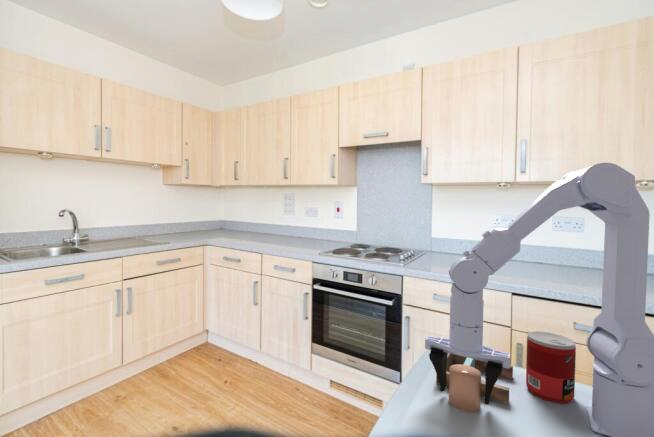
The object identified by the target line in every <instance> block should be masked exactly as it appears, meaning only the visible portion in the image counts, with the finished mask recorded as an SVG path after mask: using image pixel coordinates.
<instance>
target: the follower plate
mask: <svg viewBox="0 0 654 437" xmlns="http://www.w3.org/2000/svg"><path fill="white" fill-rule="evenodd" d="M463 365H468V366H471V367H474V368H475V359H472V358H468V357H467V358H466V360H465V362H464V364H463Z"/></svg>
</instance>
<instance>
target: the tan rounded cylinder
mask: <svg viewBox="0 0 654 437" xmlns="http://www.w3.org/2000/svg"><path fill="white" fill-rule="evenodd" d="M481 381H482V371H479V370H477V369H476V368H474V367H471V366H468V365H462V364H455V365H452V366H450V367H449V387H448V403H449V404H450V405H451V406H452V407H454V408H455V409H456V410H457V409H458V410H460V411H462V412H467V413H468V412H469V413H470V412H471V413H475V412H478V411H479V410H480V409H481V405H482V404H481V403H482V402H481V398H482V396H481Z"/></svg>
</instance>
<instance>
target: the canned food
mask: <svg viewBox="0 0 654 437" xmlns="http://www.w3.org/2000/svg"><path fill="white" fill-rule="evenodd" d="M576 348H577V346H576V342H575V341H574V340H572V339H570V338H569V337H567V336H564V335H561V334H556V333H551V332H546V331H530V332H528V333H527V337H526V364H525V365H526V366H525V368H526V369H525V370H526V372H525V373H526V374H525V375H526V376H525V383H526V387H527V389H528V391H529V392H530V393H532V395H534V396H536V397H538V398H540V399H542V400H545V401H547V402H551V403H556V404H570V403H571V402H573V401H574V398H575V387H576V386H575V385H576V384H575V382H576V381H575V380H576V357H577V356H576V353H577V352H576V350H577V349H576Z"/></svg>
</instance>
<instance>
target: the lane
mask: <svg viewBox="0 0 654 437" xmlns="http://www.w3.org/2000/svg"><path fill="white" fill-rule="evenodd" d="M466 358H467V357H463V356H459V355H455V354H451V353H448V354H447V365H446V376H447V383H446V387H448V388H449V367H450V366H452V365H455V364H462V365H463V364H464V362H465V360H466ZM486 365H487V362H485V361H480V360H476V359H475V368H476V369H477V370H479V371H480V372H481V373H485V368H486ZM500 377H502V378H506V379H510V380H513V378H514V365H512V364H510V368H509V369H508V368H504V367H503V368H502V373H501V375H500ZM435 378H436V382H435V383H436V384H438V385H439V381H438V377H437V374H436V377H435ZM485 387H486V382H485V380H481V398H484V396H485ZM490 400H493V401H497V402H500V403H504V404H507V405H509V403H510V387H507V386H503V385H500V384H496V383H495V385H494V387H493V389H492V392H491V395H490Z"/></svg>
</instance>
